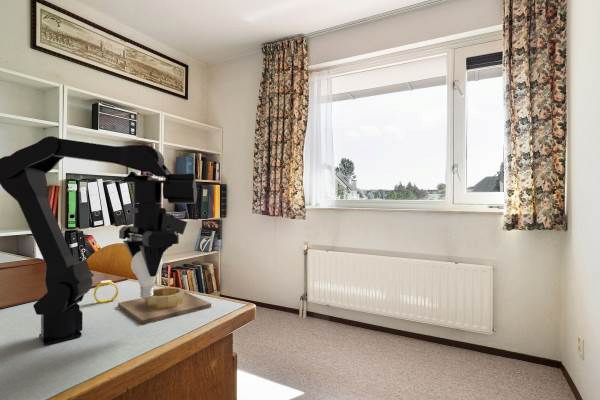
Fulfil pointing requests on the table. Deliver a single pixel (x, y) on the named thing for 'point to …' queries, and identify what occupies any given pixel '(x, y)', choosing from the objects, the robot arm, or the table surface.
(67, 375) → the table surface
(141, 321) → the socket base
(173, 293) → the socket collar
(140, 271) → the lightbulb
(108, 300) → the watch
